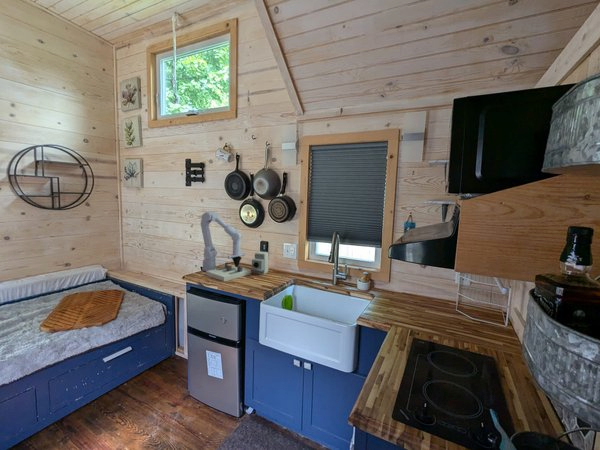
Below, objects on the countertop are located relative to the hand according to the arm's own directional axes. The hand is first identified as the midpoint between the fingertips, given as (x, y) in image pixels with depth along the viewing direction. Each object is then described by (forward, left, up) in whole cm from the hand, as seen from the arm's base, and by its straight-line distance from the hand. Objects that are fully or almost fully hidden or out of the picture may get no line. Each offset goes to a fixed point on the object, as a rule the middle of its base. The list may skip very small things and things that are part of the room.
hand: (236, 266), depth 211 cm
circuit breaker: (+14, +10, -5) cm, 18 cm away
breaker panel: (0, -7, -4) cm, 8 cm away
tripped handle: (0, -7, -1) cm, 7 cm away
